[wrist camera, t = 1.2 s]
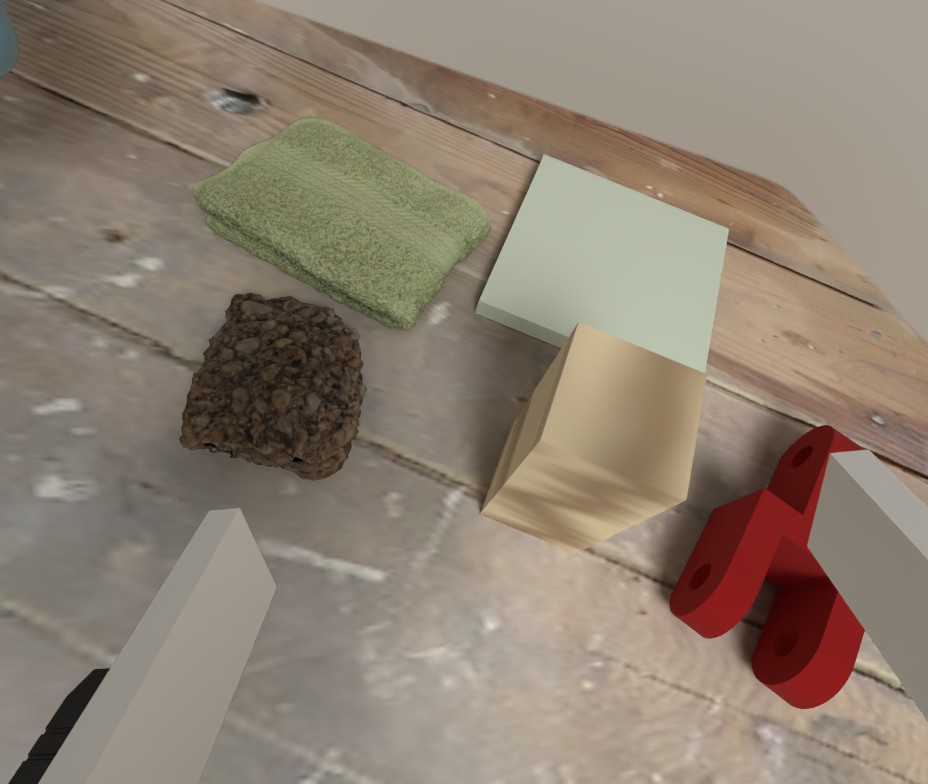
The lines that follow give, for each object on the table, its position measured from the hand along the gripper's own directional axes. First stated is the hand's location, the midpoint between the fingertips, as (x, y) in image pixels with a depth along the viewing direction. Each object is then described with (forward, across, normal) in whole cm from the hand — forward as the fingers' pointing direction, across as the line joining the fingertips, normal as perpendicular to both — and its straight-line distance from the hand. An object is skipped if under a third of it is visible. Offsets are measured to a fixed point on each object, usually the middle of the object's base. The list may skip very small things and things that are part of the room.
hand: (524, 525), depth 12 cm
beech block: (+16, +1, -13) cm, 21 cm away
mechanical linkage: (+15, +14, -19) cm, 28 cm away
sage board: (+31, +8, -5) cm, 32 cm away
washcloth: (+30, -11, +1) cm, 32 cm away
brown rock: (+18, -14, -6) cm, 24 cm away
